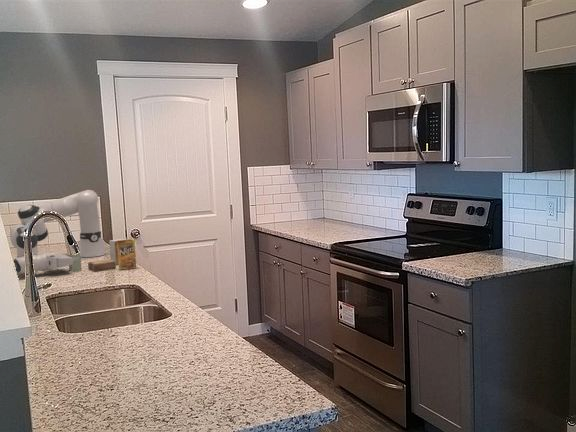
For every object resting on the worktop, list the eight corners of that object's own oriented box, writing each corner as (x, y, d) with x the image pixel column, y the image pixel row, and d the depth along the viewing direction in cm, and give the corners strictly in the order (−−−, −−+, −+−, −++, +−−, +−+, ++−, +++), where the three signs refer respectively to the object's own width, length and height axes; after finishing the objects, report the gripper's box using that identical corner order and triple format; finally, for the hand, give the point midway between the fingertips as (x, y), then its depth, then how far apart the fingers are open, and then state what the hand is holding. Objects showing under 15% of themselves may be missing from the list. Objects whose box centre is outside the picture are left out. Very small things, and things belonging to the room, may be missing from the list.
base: (88, 269, 310) (87, 261, 309) (108, 266, 316) (108, 258, 316) (95, 271, 302) (94, 264, 302) (115, 268, 309) (115, 260, 308)
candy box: (119, 270, 304) (116, 240, 302) (118, 268, 308) (116, 239, 306) (136, 268, 307) (134, 239, 305) (136, 266, 311) (134, 238, 309)
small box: (116, 265, 318) (114, 241, 317) (110, 263, 323) (108, 240, 321) (129, 262, 324) (128, 239, 322) (124, 261, 328) (122, 238, 327)
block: (69, 270, 310) (67, 247, 309) (78, 268, 313) (76, 246, 312) (71, 271, 306) (69, 248, 305) (81, 269, 310) (79, 246, 308)
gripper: (43, 264, 310) (70, 260, 318) (55, 270, 294) (82, 265, 302) (42, 252, 309) (69, 249, 318) (53, 257, 293) (81, 253, 301)
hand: (76, 257), depth 310 cm, fingers open, 6 cm apart
